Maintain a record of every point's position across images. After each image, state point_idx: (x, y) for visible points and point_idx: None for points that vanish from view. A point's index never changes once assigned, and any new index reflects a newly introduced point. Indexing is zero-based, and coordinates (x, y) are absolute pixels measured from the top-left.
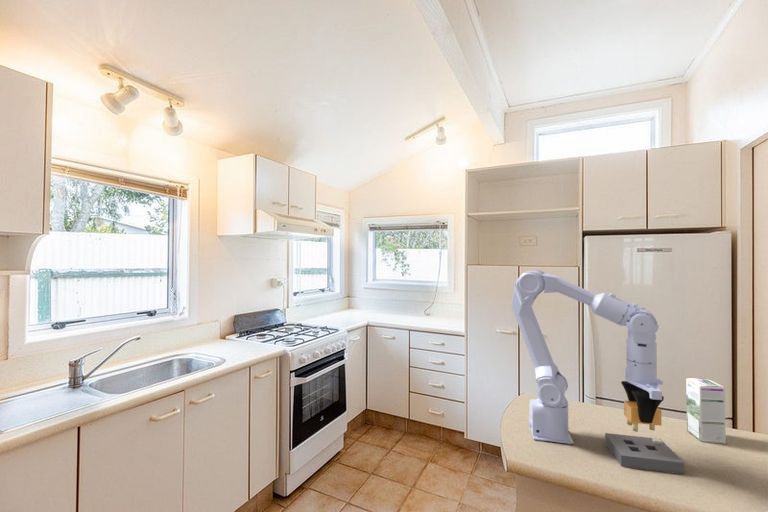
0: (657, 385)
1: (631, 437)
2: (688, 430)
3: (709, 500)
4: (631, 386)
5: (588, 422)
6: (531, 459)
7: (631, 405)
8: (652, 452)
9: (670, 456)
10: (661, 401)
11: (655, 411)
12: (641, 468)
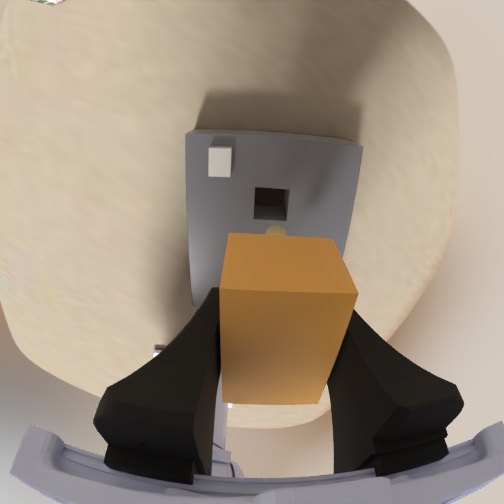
0: (453, 496)
1: (203, 239)
2: (57, 2)
3: (447, 156)
4: (208, 465)
5: (84, 283)
6: (304, 411)
7: (288, 397)
8: (304, 216)
9: (325, 167)
10: (442, 381)
11: (377, 334)
12: None
